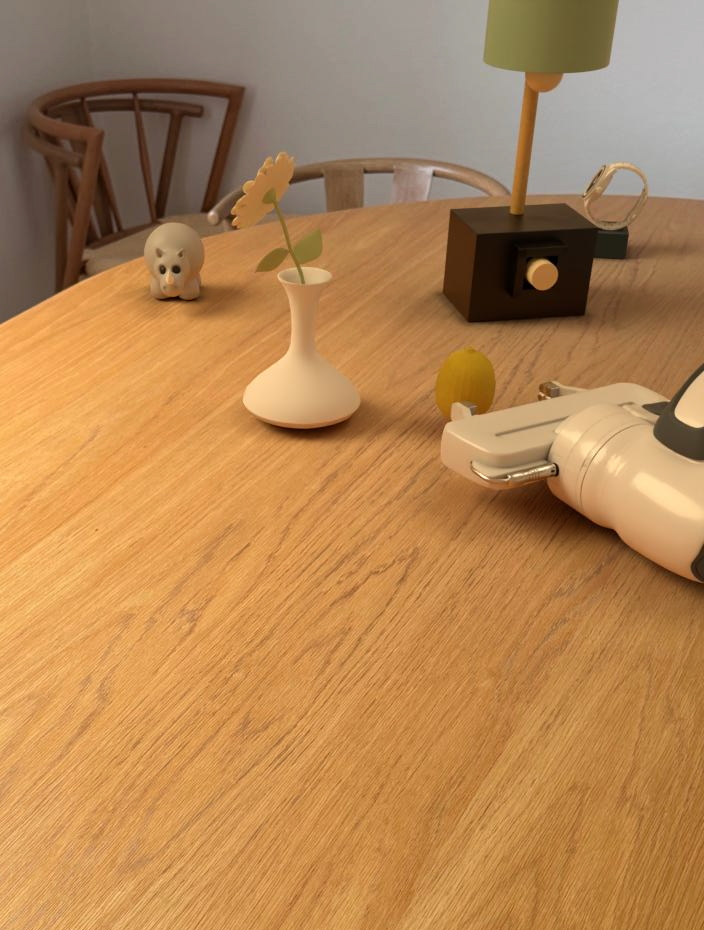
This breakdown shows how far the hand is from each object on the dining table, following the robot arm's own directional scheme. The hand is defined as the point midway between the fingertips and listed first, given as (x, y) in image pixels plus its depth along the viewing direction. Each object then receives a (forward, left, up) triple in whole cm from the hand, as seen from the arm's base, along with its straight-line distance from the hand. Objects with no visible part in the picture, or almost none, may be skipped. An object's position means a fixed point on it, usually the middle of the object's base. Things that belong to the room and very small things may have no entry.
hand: (501, 399), depth 113 cm
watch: (-19, -61, -5) cm, 64 cm away
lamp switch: (-7, -33, 0) cm, 33 cm away
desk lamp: (-5, -40, -5) cm, 40 cm away
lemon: (+3, -5, -5) cm, 8 cm away
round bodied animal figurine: (+35, -38, -5) cm, 52 cm away
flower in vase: (+19, -6, -5) cm, 20 cm away
